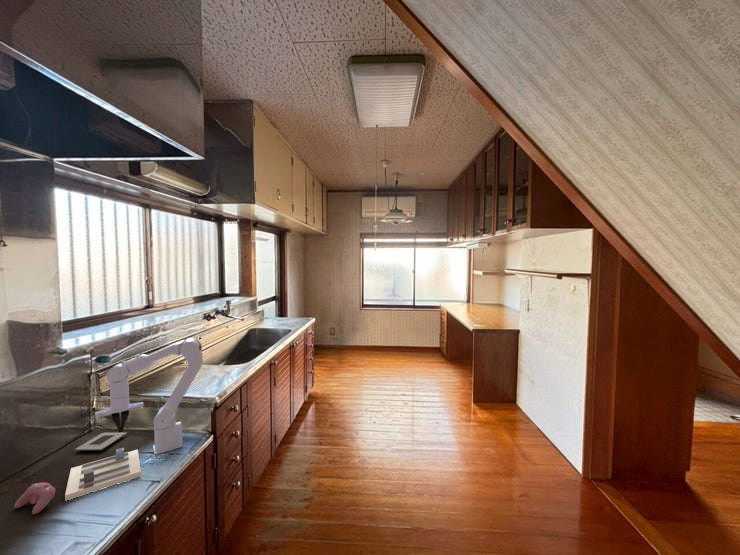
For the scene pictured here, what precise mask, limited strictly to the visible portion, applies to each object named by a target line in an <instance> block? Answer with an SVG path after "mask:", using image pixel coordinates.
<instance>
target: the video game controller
mask: <svg viewBox="0 0 740 555" xmlns="http://www.w3.org/2000/svg"><path fill="white" fill-rule="evenodd" d="M55 495H56V488H55V487H54V486H53V485H52V484H51V483H48V482H37V483H33V484H31V485H30V486H29V487H28V488H27V489H26V490H25V492H24V493H23V494H22V495H20V496H19V498H18V499H17V500H16V501H15V503H14V505H13V506H14V508H15V509H20V508H21V507H23V506H24V505H25V504H27V503H28V502H30V504H31V505H34V506H33V508H32V510H31V514H32V515H36V514H39V513H40V512H41V511H42V510H44V509H45V507H47V505H48V504H49V502H51V500H52V499H53V498H54V496H55Z"/></svg>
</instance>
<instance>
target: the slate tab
mask: <svg viewBox="0 0 740 555" xmlns="http://www.w3.org/2000/svg"><path fill="white" fill-rule="evenodd" d="M124 453H125V447H120V448H116V449H115V455H116V460H119V459H123V458H124Z"/></svg>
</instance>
